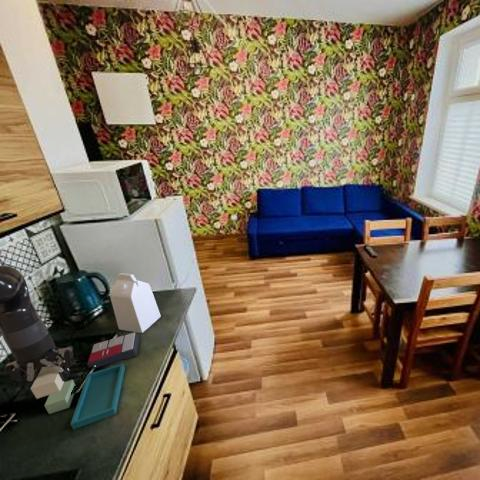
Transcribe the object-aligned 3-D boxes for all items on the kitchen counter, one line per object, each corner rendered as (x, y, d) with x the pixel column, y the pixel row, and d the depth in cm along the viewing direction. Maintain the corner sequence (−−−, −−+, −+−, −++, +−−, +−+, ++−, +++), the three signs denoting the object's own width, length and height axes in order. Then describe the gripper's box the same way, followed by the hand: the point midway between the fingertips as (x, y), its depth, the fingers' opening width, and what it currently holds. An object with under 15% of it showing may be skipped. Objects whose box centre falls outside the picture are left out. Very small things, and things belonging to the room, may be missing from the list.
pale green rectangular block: (49, 414, 84) (44, 405, 83) (58, 393, 91) (53, 385, 89) (69, 407, 86) (64, 399, 85) (76, 387, 93) (72, 379, 91)
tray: (73, 429, 80) (70, 424, 79) (89, 379, 96) (87, 374, 95) (115, 414, 84) (113, 408, 83) (125, 368, 100) (123, 363, 100)
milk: (160, 316, 128) (148, 269, 118) (142, 333, 118) (126, 282, 108) (139, 313, 130) (124, 266, 120) (118, 329, 120) (101, 279, 110)
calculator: (92, 343, 107) (136, 330, 113) (96, 351, 109) (139, 337, 115) (85, 363, 98) (133, 347, 104) (90, 371, 100) (136, 355, 106)
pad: (36, 398, 73) (30, 388, 71) (47, 376, 79) (42, 366, 78) (60, 391, 75) (54, 381, 73) (69, 370, 81) (64, 360, 80)
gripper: (-19, 357, 64) (13, 404, 71) (58, 337, 70) (81, 383, 77) (-2, 336, 70) (26, 382, 77) (67, 320, 76) (88, 364, 83)
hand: (53, 382), depth 77 cm, fingers closed on pad, 5 cm apart
